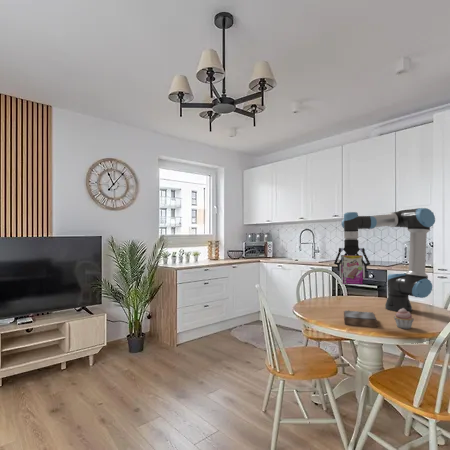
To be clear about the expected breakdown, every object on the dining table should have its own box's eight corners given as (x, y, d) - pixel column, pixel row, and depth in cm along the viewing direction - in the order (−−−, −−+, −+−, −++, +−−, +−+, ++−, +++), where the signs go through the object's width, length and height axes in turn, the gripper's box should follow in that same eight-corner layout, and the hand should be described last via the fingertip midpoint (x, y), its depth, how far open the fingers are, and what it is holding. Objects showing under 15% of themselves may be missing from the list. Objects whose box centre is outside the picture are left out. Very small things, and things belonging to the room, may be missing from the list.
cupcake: (416, 327, 162) (416, 308, 162) (411, 331, 155) (410, 311, 156) (397, 323, 168) (396, 305, 169) (391, 327, 162) (390, 308, 162)
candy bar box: (343, 284, 176) (342, 255, 176) (341, 283, 181) (340, 254, 181) (363, 284, 174) (363, 255, 175) (361, 283, 179) (360, 254, 180)
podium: (373, 319, 177) (373, 312, 178) (377, 327, 162) (377, 319, 162) (343, 317, 183) (343, 310, 183) (344, 324, 168) (344, 316, 168)
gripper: (328, 239, 179) (329, 277, 178) (374, 239, 171) (375, 278, 170) (329, 239, 186) (330, 275, 185) (373, 239, 178) (374, 277, 177)
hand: (352, 277), depth 178 cm, fingers closed on candy bar box, 12 cm apart
